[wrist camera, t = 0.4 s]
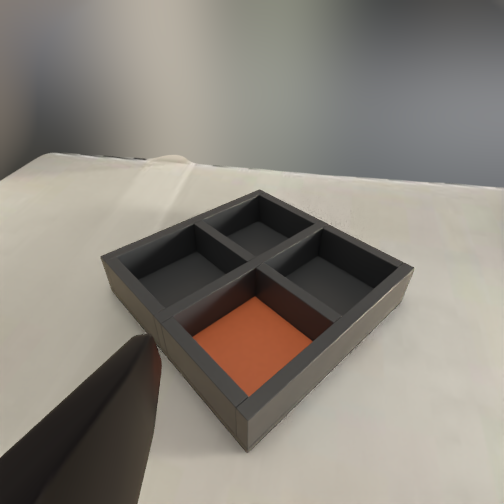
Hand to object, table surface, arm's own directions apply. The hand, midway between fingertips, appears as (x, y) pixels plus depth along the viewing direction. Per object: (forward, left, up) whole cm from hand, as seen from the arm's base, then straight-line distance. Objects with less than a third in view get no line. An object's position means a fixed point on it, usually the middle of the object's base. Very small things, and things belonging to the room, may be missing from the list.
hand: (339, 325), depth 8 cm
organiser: (+17, +2, -16) cm, 23 cm away
